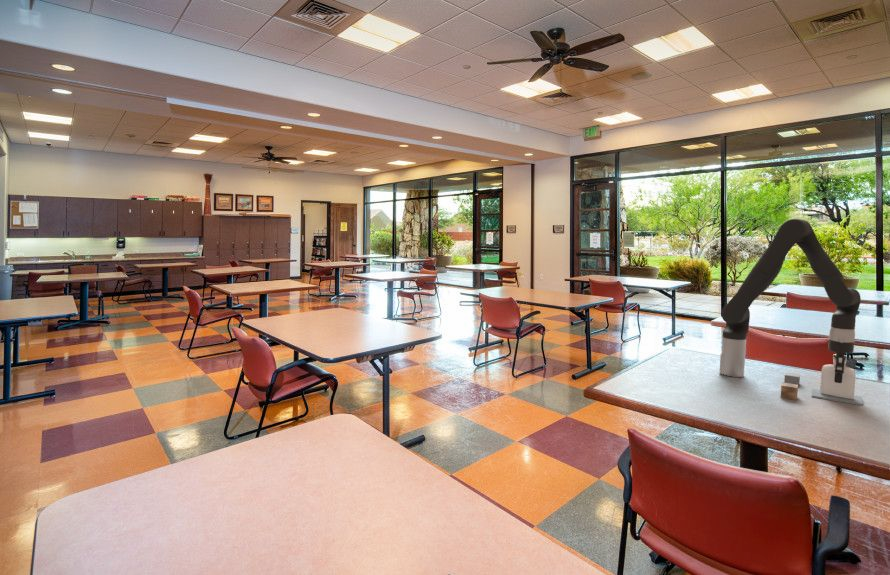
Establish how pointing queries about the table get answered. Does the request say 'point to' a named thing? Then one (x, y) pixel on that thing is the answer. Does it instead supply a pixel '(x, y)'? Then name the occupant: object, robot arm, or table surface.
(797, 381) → the gray block
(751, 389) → the table surface
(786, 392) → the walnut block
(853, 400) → the slate mat
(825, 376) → the photo printer
